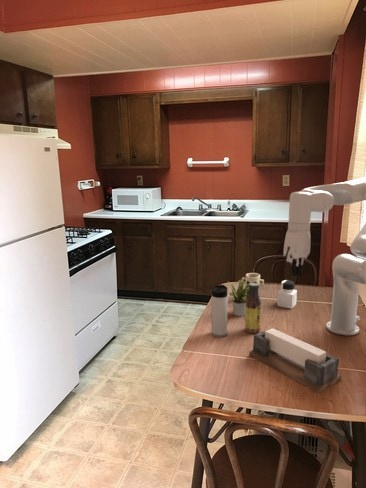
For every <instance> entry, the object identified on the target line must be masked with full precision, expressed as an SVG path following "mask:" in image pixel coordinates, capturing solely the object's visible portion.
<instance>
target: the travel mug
mask: <svg viewBox="0 0 366 488" xmlns="http://www.w3.org/2000/svg"><path fill="white" fill-rule="evenodd" d="M228 297H229V295H228V287H227V286H226V285H225V284H217V285H214V286H213V287H212V288H211V316H210V317H211V318H210V319H211V324H210V325H211V326H210V327H211V331H210V332H211V333H210V334H211V336H213V337H214V338H215V337H216V338H223V337H227V335H228Z"/></svg>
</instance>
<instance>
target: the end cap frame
mask: <svg viewBox="0 0 366 488" xmlns="http://www.w3.org/2000/svg"><path fill="white" fill-rule="evenodd" d="M269 329H270V328H269ZM269 329H266V330H264V331H261V332H257V333H255V334H254V335H253V344H252V345H253V349H251V350H249V351H248V353H249V354H248V356H250V357H252V358H253V359H255V360H257V361H259V362H261V363H263V364H265V365H267V366H268V367H270V368H272V369H274V370H276V371H278V372H280V373H282V374H283V375H285V376H287V377H289V378H290V379H292V380H295V381H296V382H298V383H300V384H302V385H303V386H305V387H307V388H309V389H310V390H312V391H315V392H316V393H318V394H319V393H321V392H323V391H325V390H326V389H327V388H329V387H331V386H333V385H334V384H336V383H338V382H339V381H341V380H342V375H341V374H340V373H339V372H338V371H339V361H340V359H339V358H337V357H334V356H332V355H331V354H328V353H326V362H325V363H323V364H321V365H320V364H318V363H316V362H314V361H312V360H310V359H307V360H305V367H304V366H302V365H300V364H298V363H296V362H294V361H292V360H290V359H288V358H286V357H284V356H282V355H280V354H278V353H276V352H274V351H272V350H270V349H269V340H268V339H266V338H265V331H267V330H269Z"/></svg>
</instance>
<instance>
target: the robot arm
mask: <svg viewBox="0 0 366 488" xmlns="http://www.w3.org/2000/svg"><path fill="white" fill-rule="evenodd" d="M290 193H291V194H290V195H289V206H288V208H289V209H288V225H287V231H286V234H285V238H284V243H283V257H284V258H286V260H285V262H286V263H290V265H291V275H292V276H293V277H297V278H299V277H302V269H303V267H302V266H303V265H304V261H305V260H306V259H308V256H309V255H310V253H311V218H312V215H311V214H312V212H315V213H326V212H328V211H330V210H331V209H332V208H333V206H334V205H335V206H345V205H348V206H349V205H352V204H355V203H358V202H363V201H366V177H360V178H358V179H352V180H349V181H344V182H336V183H330V184H322V185H321V184H320V185H317V186H316V185H315V186H310V187H306V188H303V189H302V190H300V191H292V192H290ZM349 249H350V251H351V253H352V254H349V253H342V254H341V253H340V254H338V255H337V256H335V258H334V259H333V261H332V265H331V266H332V275H333V276H332V277H333V287H332V288H333V289H332V301H331V314H330V321H327V322H326V329H327V330H328V331H329V332H331V333H334V334H336V335H342V336H355V335H357V334H359V333H360V327H359V326H358V325H357V324H356V323H357V322H358V321H360V320H361V316H360V315H357V312H358V304H359V303H358V301H359V294H360V293H359V292H360V287H359V284H361V285H366V222H365V223H364V225H363V226H362V227H361V229H360V231H359V232H358V233H357V234H356V236H355V238H354V239H353V240H352V242H351V243H350V247H349Z"/></svg>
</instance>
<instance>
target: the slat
mask: <svg viewBox="0 0 366 488" xmlns="http://www.w3.org/2000/svg"><path fill="white" fill-rule="evenodd" d="M266 330H267V331H266ZM266 330H264V331H265V338H266V339H268V340H269V349H270V350H272V351H274V352H276V353H278V354H280V355H282V356H284V357H286V358H288V359H290V360H292V361H294V362H296V363H298V364H300V365H302V366H304V367H305V360H307V359H310V360H312V361H314V362H316V363H318V364H320V365H321V364H323V363H325V362H326V354H327V351H325V350H323V349H321V348H319V347H316V346H314V345H312V344H309V343H307V342H304V341H302V340H300V339H298V338H296V337H293V336H292V335H289V334H286V333H284V332H283V331H280V330H277V329H275V328H269V330H268V329H266Z"/></svg>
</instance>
